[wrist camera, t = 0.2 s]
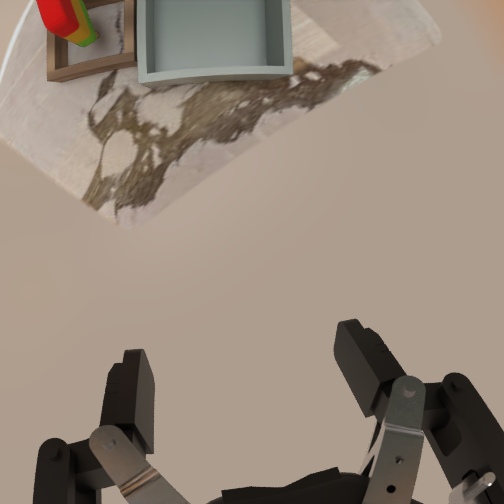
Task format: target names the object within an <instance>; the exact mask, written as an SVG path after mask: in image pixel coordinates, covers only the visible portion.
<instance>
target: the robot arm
mask: <svg viewBox="0 0 504 504" xmlns="http://www.w3.org/2000/svg"><path fill="white" fill-rule="evenodd" d="M334 356H335V360H336V361H337V364H338V366H339V368H340V370H341V371H342V373H343V375H344V377H345V379H346V381H347V383H348V385H349V387H350V389H351V391H352V393H353V394H354V396H355V398H356V400H357V402H358V404H359V406H360V408H361V410H362V412H363V414H364V415H365V417H370V416H373V415H375V417H376V419H377V420H376V423H375V426H374V430H373V433H372V436H371V440H370V443H369V446H368V450H367V453H366V456H365V459H364V461H363V463H362V466H361V468H360V470H359V472H358V474H356V473H346V472H341V473H340V472H339V470H338V467H334V468H331V469H328V470H324V471H320V472H317V473H313V474H310V475H308V476H306V477H304V478H302V479H300V480H298V481H296V482H294V483H292V484H289V485H287V486H285V487H275V488H274V487H252V486H250V487H244V488H237V489H229V490H222V497H219V498H217V499H214V500H212V501H210V502H209V503H207V504H423V503H420V502H418V501H416V500H414V499H412V494H413V491H414V486H415V482H416V478H417V473H418V468H419V464H420V459H421V453H422V448H423V442H424V434H425V436H426V438H427V439H428V441H429V443H430V445H431V447H432V449H433V451H434V453H435V455H436V457H437V459H438V461H439V463H440V465H441V467H442V469H443V471H444V474H445V476H446V478H447V480H448V482H449V484H450V486H451V488H452V491H451V493H450V495H449V504H504V431H503V430H502V428H501V427H500V425H499V423H498V422H497V420H496V419H495V417H494V416H493V414H492V413H491V411H490V410H489V408H488V407H487V405H486V404H485V402H484V401H483V399H482V398H481V396H480V395H479V393H478V392H477V390H476V389H475V388H474V386H473V385H472V383H471V382H470V380H469V379H468V378H467V377H466V376H464V375H463V374H460V373H450V374H448V375H446V376H445V377H444V379H443V381H442V382H438V383H423V382H422V381H421V380H419V379H418V378H416V377H414V376H408V375H407V374H406V373H405V372H404V370H403V369H402V367H401V366H400V365H399V363H398V361H397V360H396V359H395V357H394V356H393V354H392V353H391V351H389V349H388V347H387V346H386V344H384V342H383V340H382V339H381V337H380V336H379V335H378V334H377V333H376V332H374V331H373V330H371V329H370V328H365V329H364V328H363V326H362V325H361V324H360V322H359V321H358V320H357V319H351V320H346V321H341V322H339V323H338V326H337V332H336V338H335V344H334ZM106 384H107V385H106V388H105V394H104V400H103V406H102V413H101V420H100V425H99V428H97V429H95V430H94V431H93V432H92V434H91V436H90V438H88V439H86V440H83V441H79V442H75V443H71V444H67V443H66V442H65V441H63V440H61V439H59V438H51V439H48V440H46V441H45V442H44V443H43V444H42V445H41V447H40V449H39V452H38V458H37V466H36V473H35V483H34V493H33V504H101V489H102V488H106V487H110V486H114V485H117V487H118V488H119V489H120V492H121V494H122V495H123V497H124V498H125V499H126V501H127V502H128V503H129V504H190V503H189V502H188V501H187V500H186V499H185V498H184V497H183V496H182V495H181V494H180V493H179V492H177V491H176V489H175V488H173V487H172V485H170V484H169V483H168V481H167V480H166V479H165V478H164V477H163V476H162V475H161V474H160V473H159V472H158V471H157V470H156V469H154V468H153V467H152V466H151V465H150V464H149V463H148V462H147V460H146V454H154V395H155V394H154V393H155V383H154V377H153V373H152V370H151V368H150V365H149V362H148V359H147V357H146V354H145V351H144V350H143V349H133V350H125V352H124V357H123V363H115V364H114V365H113V367H112V368H111V370H110V371H109V373H108V377H107V383H106ZM422 430H423V432H424V433H423V432H421V431H422Z"/></svg>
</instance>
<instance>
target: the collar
mask: <svg viewBox="0 0 504 504" xmlns="http://www.w3.org/2000/svg"><path fill="white" fill-rule="evenodd" d="M82 1H83V2H84V5H85V7H86V9H90V8H94V7H98V6H102V5H106V4H111V3H115V2H120V1H125V2H124V53H123V54H118V55H113V56H108V57H103V58H99V59H95V60H90V61H86V62H82V63H78V64H75V65H71V66H68V59H67V40H66V39H64V38H62V37H60V36H58V35H55V34H53V33H51V32H50V31H49V30H47V81H52V82H64V81H68V80H72V79H76V78H80V77H84V76H88V75H92V74H96V73H101V72H105V71H110V70H115V69H121V68H126V67H132V66H138V60H137V0H82Z"/></svg>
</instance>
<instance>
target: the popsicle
mask: <svg viewBox="0 0 504 504" xmlns="http://www.w3.org/2000/svg"><path fill="white" fill-rule="evenodd" d="M36 1H37V4H38V8H39V11H40V14H41V17H42V20H43V23H44V25H45V27H46V28H47V30H49V31H50V32H51V33H53V34H55V35H58V36H60V37H62V38H64V39H66V40H69V41H71V42H73V43H75V44H77V45H79V46H81V47H85V46H87V45H89V44H91V43H93V42H94V41H95V40H96V39H97V38H98V37H99V34H98V32H97V31H96V30H95V29H94V28H93V26H92V23H91V20H90V18H89V15H88V13H87V10H86V7H85V5H84V2H83V1H82V0H36Z"/></svg>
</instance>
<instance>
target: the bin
mask: <svg viewBox="0 0 504 504" xmlns="http://www.w3.org/2000/svg"><path fill="white" fill-rule="evenodd" d="M137 60H138V83H139V84H141V85H144V86H146V87H148V88H155V87H163V86H171V85H180V84H191V83H203V82H217V81H240V80H274V79H278V78H282V77H285V76H289V75H293V55H292V30H291V10H290V0H137Z"/></svg>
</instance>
